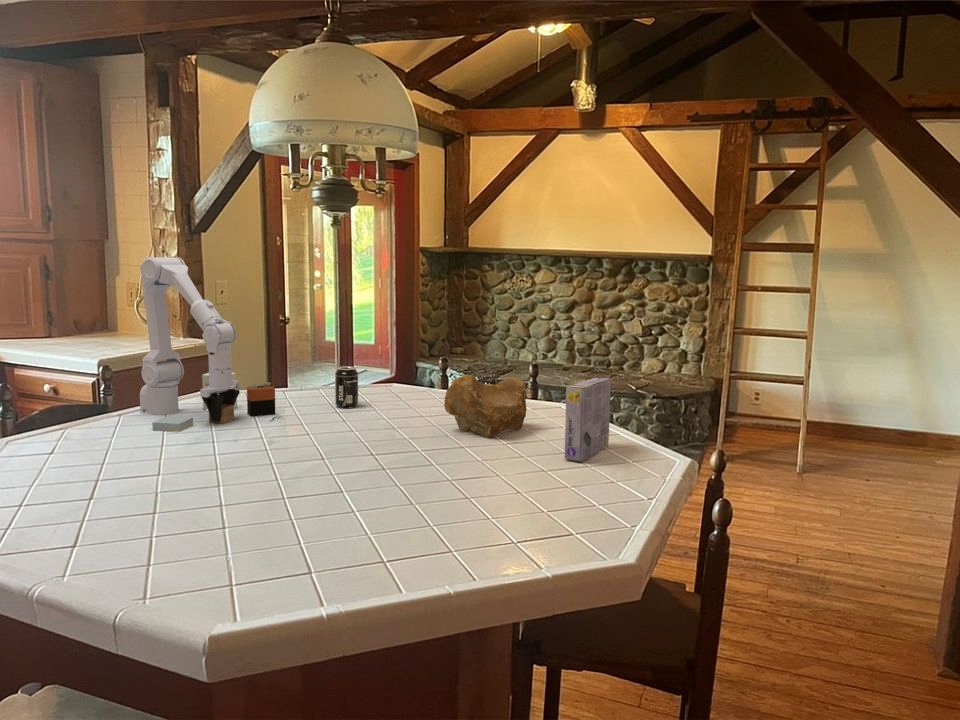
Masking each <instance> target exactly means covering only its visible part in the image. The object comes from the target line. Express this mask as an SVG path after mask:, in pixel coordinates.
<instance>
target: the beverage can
mask: <svg viewBox="0 0 960 720" xmlns="http://www.w3.org/2000/svg"><path fill="white" fill-rule="evenodd" d="M336 369H337V370H336V371H335V373H334V376H335V377H334V378H335V380H334V381H335V385H334V386H335V387H334V388H335V389H334V390H335V391H334V393H335V394H334V399H335V400H334V401H335V405H336V407H338V408H340V407H343V408H342V409H350V408H349V407H353V408H355V407H356V406H358V404H359V372H358V371H357V367H356V366H351V365H350V366H348V365H347V366H346V365H343V366H338V367H337V368H336ZM354 406H355V407H354Z"/></svg>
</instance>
